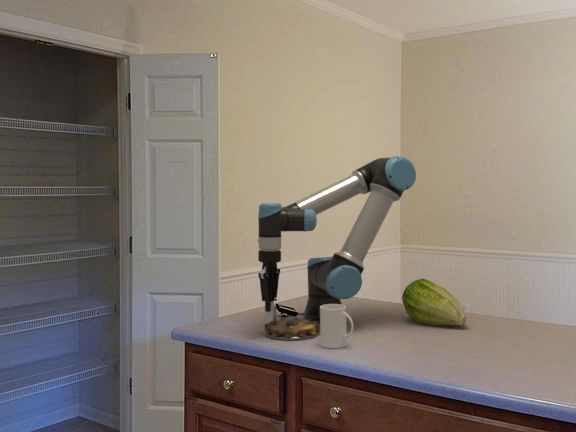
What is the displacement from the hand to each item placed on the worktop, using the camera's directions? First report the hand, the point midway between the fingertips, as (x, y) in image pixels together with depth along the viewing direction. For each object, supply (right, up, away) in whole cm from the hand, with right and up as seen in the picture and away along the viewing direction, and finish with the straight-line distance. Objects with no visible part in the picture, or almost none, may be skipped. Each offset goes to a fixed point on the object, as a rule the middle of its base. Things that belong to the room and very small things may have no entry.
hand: (269, 320), depth 195 cm
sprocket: (+8, -4, +2) cm, 9 cm away
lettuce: (+58, -3, +12) cm, 59 cm away
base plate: (+8, -5, +2) cm, 9 cm away
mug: (+21, -6, -14) cm, 26 cm away
